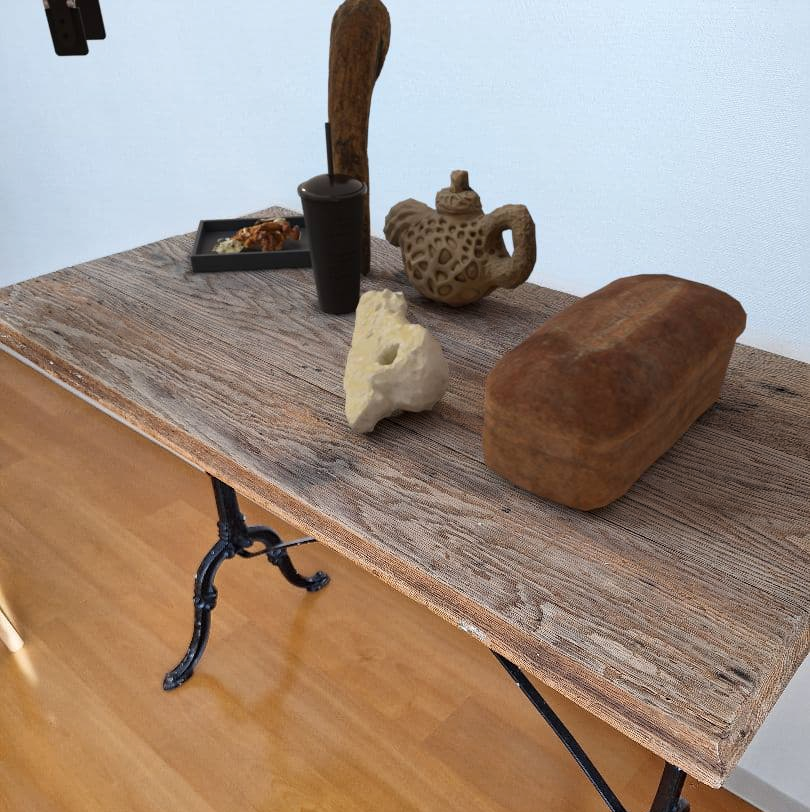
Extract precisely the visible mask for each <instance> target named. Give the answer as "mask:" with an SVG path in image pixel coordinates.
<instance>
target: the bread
mask: <svg viewBox="0 0 810 812" xmlns="http://www.w3.org/2000/svg"><path fill="white" fill-rule="evenodd" d="M747 319H748V314H747V312H746V310H745V309H744V306H743V305H742V303H741V302H740V301H739V300H738V299H736V298H735V297H733V296H732V295H730V294H729V293H727V292H726V291H723V290H721V289H719V288H716V287H715V286H712V285H709V284H705V283H702V282H698V281H694V280H691V279H687V278H683V277H680V276H675V275H671V274H668V273H640V274H634V275H630V276H623V277H619V278H617V279H614V280H613V281H611V282H609V283H607V284H606V285H603V286H602V287H601V288H599V289H597V290H594V291H592V292H591V293H588V294H587V295H585V296H582V297H581V298H579V299H578V300H576V301H574V302H572V303H571V304H569V305H568V306H567V307H565V308H563V309H562V310H560V311H559V312H558V313H557V314H555V315H554V316H552V317H551V318H550V319H548V320H547V321H546V322H544V323H543V324H542V325H541V326H540V327H539V328H537V329H536V330H535V331H534V332H532V333H531V334H530V335H528V336H527V337H526V338H525V339H524V340H523V341H521V342H520V343H519V344H517V345H516V346H515V347H514V348H512V349H511V350H509V351H507V352H506V353H505V354H503V356H501V357H500V358H499V359H498V360H497V361H496V362H495V363H494V365H493V367H491V369H490V370H489V372H488V375H487V377H486V380H485V382H484V420H483V424H482V425H483V426H482V430H481V448H482V449H481V450H482V457H483V463H484V465H486V466H487V467H488V468H489V469H490V470H491V471H493V473H495V474H497V475H498V476H500V477H502V478H503V479H505V480H507V481H509V482H510V483H512V484H513V485H515V486H517V487H519V488H521V489H523V490H524V491H527V492H529V493H531V494H533V495H535V496H538V497H540V498H543V499H546V500H548V501H551V502H554V503H556V504H560V505H562V506H566V507H568V508H572V509H577V510H580V511H585V512H587V511H590V510H594V509H599V508H605V507H607V506H608V505H610V504H611V503H613V502H614V501H616V500H617V499H619V498H620V497H622V496H624V495H625V494H626V493H627V492H628V491H629V489H630V488H631V487H632V486H633V485H634V484H635V482H637V480H638V479H639V478H640V477H641V476H642V475H643V474H644V472H646V471H647V469H649V468H650V467H651V466H652V465H653V464H654V463H655V462H656V461H657V460H658V459H659V458H660V457H661V456H662V455H663V454H665V453H666V452H667V451H668V450H669V449H670V448H671V447H672V446H673V445H674V444H675V443H676V442H677V441H678V440H679V439H680V438H681V437H682V436H683V435H684V434H685V433H686V432H687V431H688V430H689V428H691V426H692V425H693V424H694V423H695V421H697V419H699V417H701V416H702V414H704V413H705V412H706V411H707V410H708V409H709V408H710V407H711V406H712V405H713V404H715V402H716V401H717V400H718V398H719V396H720V394H721V392H722V389H723V386H724V383H725V379H726V376H727V372H728V369H729V365H730V363H731V358H732V356H733V352H734V350H735V347H736V342H737V339H739V337H740V336H741V335H742V334H743V333H744V331H746V328H747Z"/></svg>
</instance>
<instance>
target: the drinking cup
mask: <svg viewBox="0 0 810 812" xmlns="http://www.w3.org/2000/svg"><path fill="white" fill-rule="evenodd" d="M324 130H325V131H324V135H325V148H326V149H325V150H326V151H325V152H326V163H327V165H326V166H327V173H321V174H317V175H315V176H312V177H311V178H309V179H308V180H305V181H303V182H301V183H300V184H298V186H297V188H296V192H297V195H298V197H300V201H301V208H302V214H303V216H304V220H305V226H306V232H307V238H308V243H309V249H310V255H311V261H312V271H313V277H314V282H315V283H314V284H315V289H316V290H315V291H316V296H317V301H318V305H319V309H320V310H321V311H322V312H325V313H328V314H335V315H340V314H348V313H352V312H355V311H356V309H357V306H358V304H359V301H360V298H361V276H362V275H361V258H362V237H363V215H364V195H365V194H366V192H367V186H366V184H365V183H364V182H363V181H360V180H358V179H355V178H353V177H351V176H348V175H345V174H340V173H334V161H333V145H332V129H331V123H330V122H328V121H327V122H324Z"/></svg>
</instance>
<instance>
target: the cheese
mask: <svg viewBox="0 0 810 812" xmlns="http://www.w3.org/2000/svg"><path fill="white" fill-rule="evenodd" d="M404 295H405V294H404V293H403V292H402V291H397V292H396V291H395V292H393V291H392V290H391V289H390V288H387V287H386V288H384V289H383V291H379V290H377V291H376V290H369V291H366V292H364V293H363V294H362V295H360V301H359V304H358V306H357V309H356V310H355V320H354V330H353V333H352V339H351V348H350V349H349V352H348V355H347V358H346V365H345V371H344V372H345V373H344V376H343V379H342V384H343V385H342V386H343V391H344V392H345V405H344V411H345V417H346V421H347V423H348V425H349V427H350V429H351V430H353V432H355V433H358V434H364V433H367V432H368V433H372V432H374V430H375V429H374V428H375V426H376V425H377V423H379V422H380V421H381V420H383V419H385V418H390V417H391V416H392V414H393V412H394V411H396V410H403V411H408V412H414V413H419V412H423V411H432V410H433V407H434V406H435V404H437V402H439V401H440V400H442V399H443V398H444V397H445V395H446V392H447V390H448V388H449V386H450V370H449V364H448V363H449V362H448V361H447V359H446V357H445V356H444V354H443V349H442V346H441V344H440V343H439V342H438V341H437V339H435V337H434V336H433V334H432V333H431V332H430V331H429V330H428V329H427V328H425V327H424V326H423V325H421V324H419V323H418V324H417V323H415V324H413V323H412V322H410V320H408V319H407V318H406V314H407V311H408V302H407V301H406V299H405V296H404Z"/></svg>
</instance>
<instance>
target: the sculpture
mask: <svg viewBox="0 0 810 812" xmlns="http://www.w3.org/2000/svg"><path fill="white" fill-rule="evenodd" d="M331 19H332V20H331V23H330V34H329V47H328V49H329V50H328V73H327V74H328V77H327V122H330V123H331V129H332V145H333V161H334V173H340V174H345V175H348V176H351V177H353V178H355V179H358V180H360V181H363V182H364V183H365V184H366V186H367V192H366V194H365V195H364V215H363V237H362V258H361V276H363V277H366V276H367V275H369V273H370V272H371V263H372V249H371V248H372V247H371V246H372V241H371V233H372V232H371V206H370V198H371V197H370V195H371V194H370V193H371V192H370V187H371V186H370V166H369V164H370V163H369V161H370V160H369V154H368V146H369V124H370V115H371V106H372V99H373V92H374V88H375V86H376V83H377V81H378V79H379V78H380V76H381V73H382V70H383V68H384V65H385V61H386V58H387V55H388V53H389V49H390V46H391V35H392V23H391V16H390V12H389V10H388V7H387V6H386V5H385V4H384V3H383V1H382V0H344V1H343V3H341V4H339V6H338V8H337V9H336V10H335V12H334V14H333V16H332V18H331Z"/></svg>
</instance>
